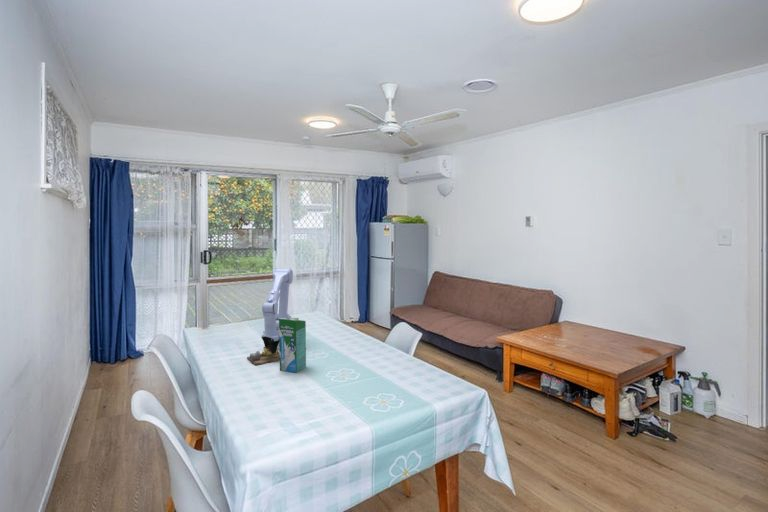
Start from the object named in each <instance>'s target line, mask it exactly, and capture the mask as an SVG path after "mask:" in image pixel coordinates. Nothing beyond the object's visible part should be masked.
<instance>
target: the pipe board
mask: <svg viewBox="0 0 768 512" xmlns="http://www.w3.org/2000/svg"><path fill="white" fill-rule="evenodd" d="M249 354H250V355H249V356H247V357H246V359H247V361H249V362H250V363H251V364H253V365H254V366H255V367H256V366H261V365H266V364H270V363H274V362H280V353H279V351H278V354H277V355H272V356H267V357H263V355H262V353H261V352H260V351H259V350H257V351H255V352H252V353H251V352H250V353H249Z"/></svg>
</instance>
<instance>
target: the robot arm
mask: <svg viewBox="0 0 768 512" xmlns="http://www.w3.org/2000/svg"><path fill="white" fill-rule="evenodd" d="M293 275H294V273H293V270H292V268H274V269H273V271H272V279H273V285H272V288H271V290H269V292H268V294H267V298H266V300H265V302H264V303H263V304H262V308H261V311H262V313H263V314H262V315H263V318H264V323H263V324H264V330H263V331H262V333H263V334H262V335H261V339H262V341H263V344H264V347H265V346H268V345H270V348H271V353H272V354H274V353H276V350H277V349H278V350H279V319H290V317H292V316H291V315H290V314H289V313H288V311H289V310H288V309H289V308H288V307H289V296H290V295H289V290H290V285H291V284H293V278H294V276H293Z"/></svg>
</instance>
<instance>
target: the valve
mask: <svg viewBox="0 0 768 512" xmlns="http://www.w3.org/2000/svg"><path fill="white" fill-rule="evenodd" d="M278 352H279V349H278V348H277V350H276V353H274V354H272V353H271V348H270V345H268V346H265V345H264V346H263V351H262V355H263V357H267V356H272V355H277V354H278Z"/></svg>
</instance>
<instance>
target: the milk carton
mask: <svg viewBox="0 0 768 512" xmlns="http://www.w3.org/2000/svg"><path fill="white" fill-rule="evenodd" d="M299 318H300V317H293V316H291V317H290V319H284V318H279V349H278V352H279V353H280V361H279V371H281V372H288V373H295V374H297V373H298V372H300V371H301V370H303V369H304V368H306V367H307V341H306V340H307V339H306V338H307V334H306V332H307V331H306V326H307V325H306V321H307V320H300V319H299Z"/></svg>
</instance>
